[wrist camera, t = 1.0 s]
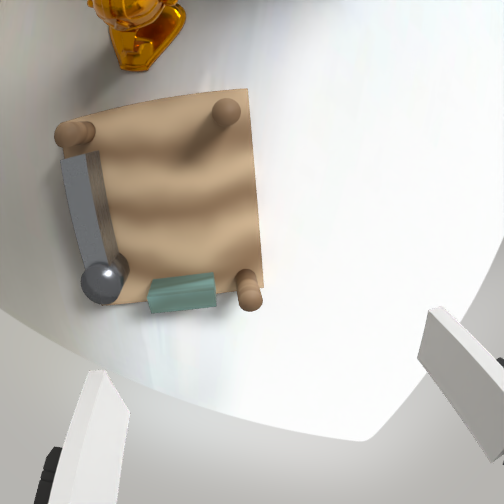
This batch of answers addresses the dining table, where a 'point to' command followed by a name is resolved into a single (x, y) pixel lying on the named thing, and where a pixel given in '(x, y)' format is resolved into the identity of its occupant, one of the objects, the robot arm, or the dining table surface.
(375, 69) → the dining table surface
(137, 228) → the board
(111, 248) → the leg
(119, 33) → the figurine
